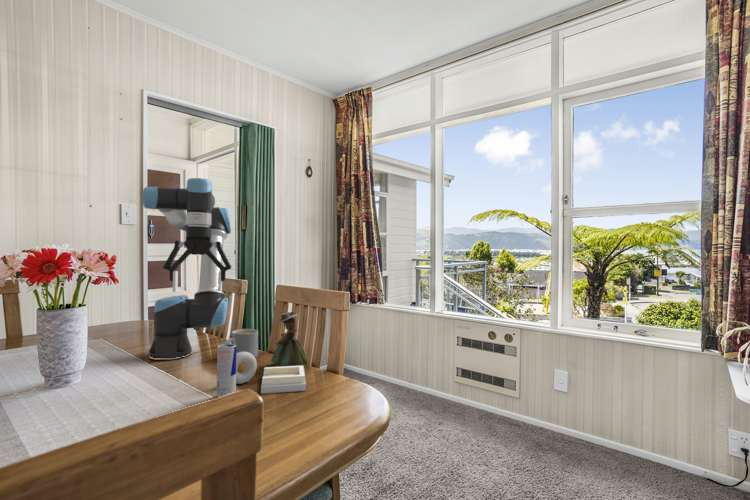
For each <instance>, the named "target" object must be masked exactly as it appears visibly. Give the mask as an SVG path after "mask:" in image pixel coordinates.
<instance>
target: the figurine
mask: <svg viewBox="0 0 750 500" xmlns="http://www.w3.org/2000/svg"><path fill="white" fill-rule="evenodd" d="M297 316H298V314H297V313H295V312H293V311H287V312H285V313H281V315H280V317H281V318H280V319H279V320H278V323H283V325H284V328H285V329H286V332H282V333H281V334H280V338H279V339H278V340H277V341H275V342H274V344H275V347H276V349H275V350H274V353H273V354H272V357H271V362H272V364H273V365H275V366H274V367H282V366H302V365H303V366H304V367H305V364H306V363H307V362H308V360H309V357H308V356H307V353H306V351H305V348H304V347H303V345H302V344H301V342H300V341H299V340H298V339H297V338H296V337H295V335H296V332H298V330H297V326H296V319H295V317H297Z"/></svg>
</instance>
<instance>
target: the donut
mask: <svg viewBox="0 0 750 500" xmlns="http://www.w3.org/2000/svg"><path fill="white" fill-rule="evenodd" d="M243 363H244V364H245V369H244V370H243V371H242V372H239V371H238V368H239V366H240V364H243ZM257 368H258V363H257V358H255V357H254V356H253V355H252V354H251V353H249V352H239V353H236V385H240V384H241V385H242V384H245V383H247V382H249V381H250V380H251V379H252V378H253V377H254V376H255V374H256V371H257Z"/></svg>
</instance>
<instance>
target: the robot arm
mask: <svg viewBox="0 0 750 500" xmlns="http://www.w3.org/2000/svg"><path fill="white" fill-rule="evenodd" d="M141 202H142V205H143V207H144V208H145V209H148V210H149V209H150V210H153V211H154V210H158V211H159V212H160V213H161V214H163V216H164V217H165V218H166V221H167V222H168V223H169V224H170V225H171V226H172V227H174V228H176V229H178V230H180V231H184V232H185V241H181V240H175V241H174V245H173V248H172V251H170V252H171V253H170V254H169V256H168V258H167V260H166V261H165V263H164V265H162V266H163V267H162V268H163V270H167V271H169V282H172V292H173V293H175V292H178V291H179V289H178V287H179V282H178V281H179V271H178V270H177V269H178V268H179V267H180V265H182V263H183V262H184V261H185V260H186V259H187V258H188V257H189V256H190V255H192V256H194V255H200V266H199V267H200V269H199V270H200V271H199V280H198V281H199V282H198V291H196V292H195V293H194V297H193V298H189V296H188V295H187V294H182V295H181V294H180V295H174V296H168V297H163V298H160V299H157V300H156V301H155V302H154V309H153V339H152V341H151V344H150V348H149V349H148V354H147V355H149V356H150V357H153V358H176V357H182V356H186V355H188V354H190V353H191V352H192V353H193V351H192V346H191V345H192V344H191V343H190V339H189V336H188V329H202V328H203V329H207V328H210V329H211V328H212V329H213V328H219V327H222V326H224V325H225V323H226V319H227V315H228V311H229V310H228V309H229V299H228V298H227V297H226V293H224V292H223V282H225V281H226V271H228V270H231V269H232V265H231V263H230V261H229V258H228V257H227V255H226V253H225V252H224V240H226V239H227V238H228V235H230V234H231V233H232V229H231V221H230V220H231V219H230V212H229V209H228V208H226V207H219V206H216V207H215V204H216V199H215V195H214V194H213V185H212V181H211V180H209V179H206V178H201V177H199V178H198V177H197V178H196V177H191V178H189V179H187V181H186V188H181V187H180V188H179V187H164V186H162V187H160V186H155V185H154V186H145V187H144V188H143V190H142V193H141ZM183 246H184V247H185V248H186V250H185V251H184V252H183V254H181V256H180V257H179V258H178V259H177V260H176V261H175V262H174V260H175V258H176V257H177V255H178V253H179V251H180V249H181V248H183ZM173 262H174V263H173Z"/></svg>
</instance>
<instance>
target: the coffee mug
mask: <svg viewBox="0 0 750 500" xmlns="http://www.w3.org/2000/svg"><path fill="white" fill-rule="evenodd" d="M223 344H236V353H239V352H249V353H251V354H252V355H253V356H254V357H256V358H258V357H259V356H258V355H259V330H257V329H254V328H241V329H236V330H235V329H234V330H233V331H231V337H230V338H227V339H225V341H224V343H223ZM257 356H258V357H257Z"/></svg>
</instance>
